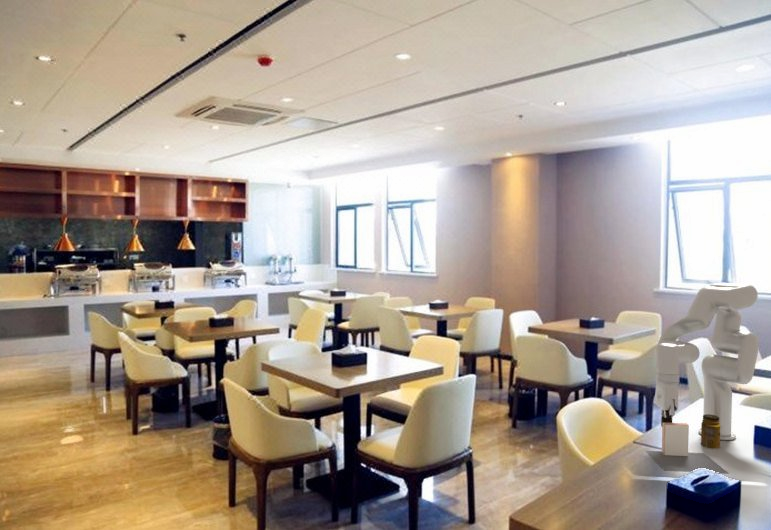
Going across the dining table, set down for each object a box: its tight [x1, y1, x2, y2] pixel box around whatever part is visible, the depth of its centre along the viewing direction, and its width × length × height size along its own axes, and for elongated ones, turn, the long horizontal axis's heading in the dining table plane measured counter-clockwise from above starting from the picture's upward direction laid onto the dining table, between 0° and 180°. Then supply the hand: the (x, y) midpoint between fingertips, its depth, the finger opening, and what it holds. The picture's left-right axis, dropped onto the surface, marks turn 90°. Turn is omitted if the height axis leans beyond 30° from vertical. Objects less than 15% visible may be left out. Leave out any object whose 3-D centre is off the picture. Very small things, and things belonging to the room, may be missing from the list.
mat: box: [645, 450, 730, 475], centre depth 190 cm, size 18×20×1 cm
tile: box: [661, 422, 690, 456], centre depth 196 cm, size 2×8×11 cm, turn 84°
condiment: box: [700, 414, 721, 449], centre depth 205 cm, size 7×8×12 cm
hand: (666, 427), depth 204 cm, fingers closed
